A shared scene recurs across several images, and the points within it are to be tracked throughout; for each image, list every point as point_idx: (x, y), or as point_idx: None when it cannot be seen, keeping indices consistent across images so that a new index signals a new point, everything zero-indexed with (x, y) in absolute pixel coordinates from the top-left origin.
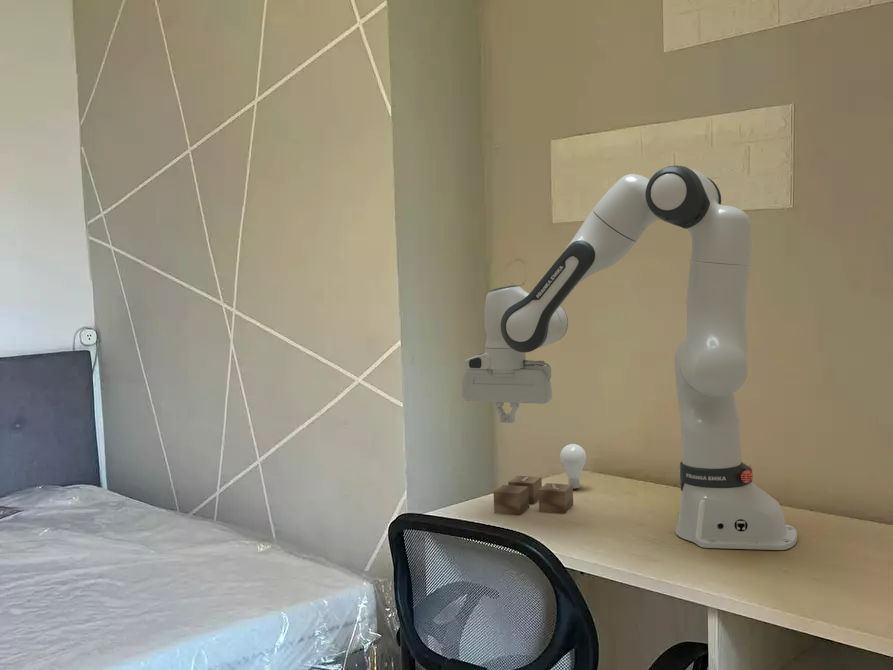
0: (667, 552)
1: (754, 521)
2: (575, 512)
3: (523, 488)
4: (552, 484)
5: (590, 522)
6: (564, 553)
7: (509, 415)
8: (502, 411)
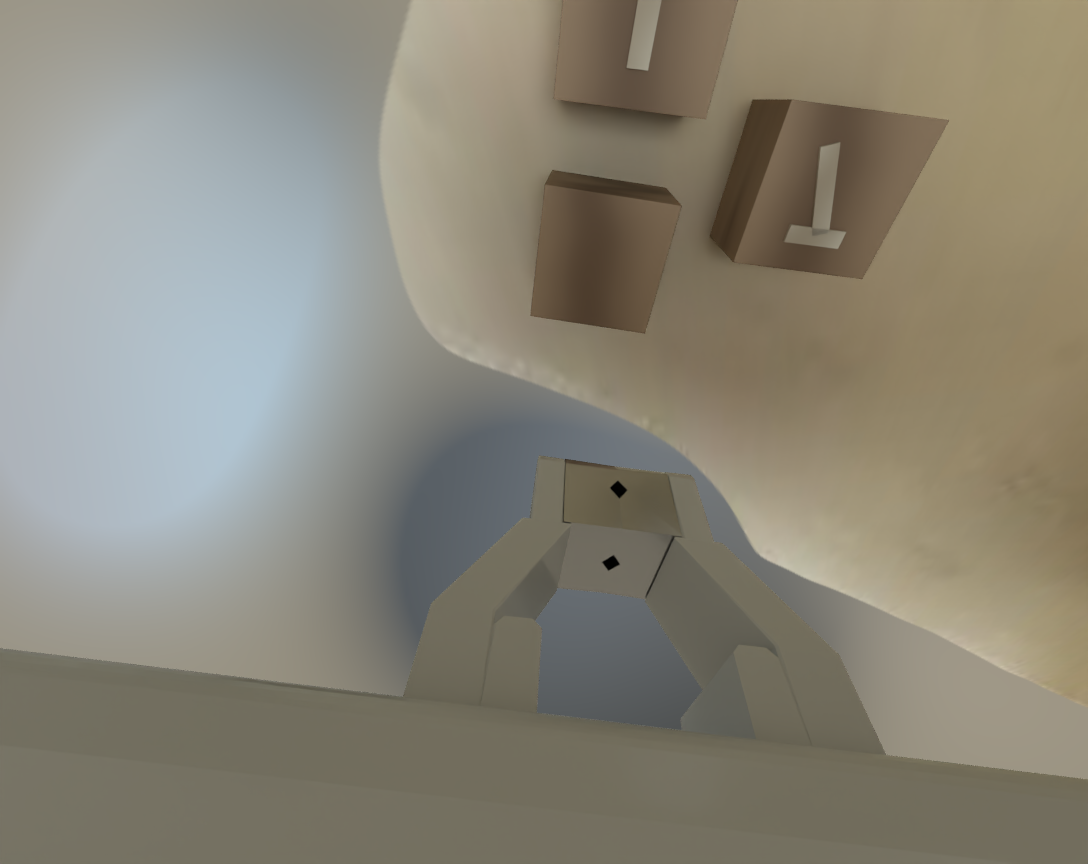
0: (1008, 538)
1: None
2: None
3: (658, 248)
4: (821, 152)
5: (888, 349)
6: (762, 553)
7: (649, 596)
8: (543, 581)
